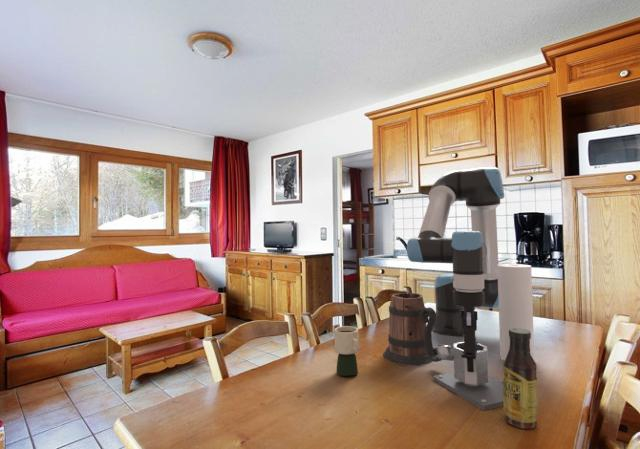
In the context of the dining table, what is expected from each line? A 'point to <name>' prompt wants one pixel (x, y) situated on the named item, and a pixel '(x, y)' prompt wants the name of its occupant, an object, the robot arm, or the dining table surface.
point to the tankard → (410, 331)
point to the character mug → (346, 349)
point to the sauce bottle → (520, 381)
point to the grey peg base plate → (474, 390)
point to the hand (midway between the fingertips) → (471, 376)
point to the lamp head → (459, 368)
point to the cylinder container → (514, 303)
